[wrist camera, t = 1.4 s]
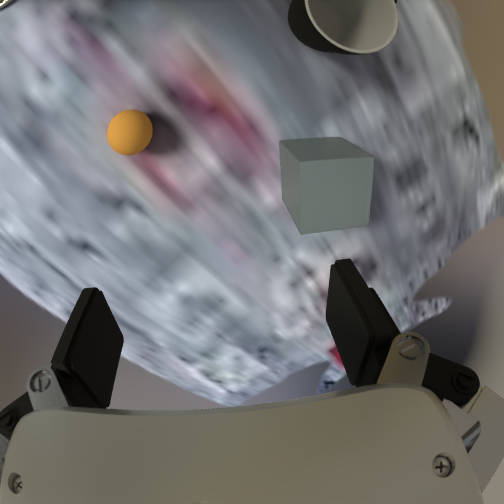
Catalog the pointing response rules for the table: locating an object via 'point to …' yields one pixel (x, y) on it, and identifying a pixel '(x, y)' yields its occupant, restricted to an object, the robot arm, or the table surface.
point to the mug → (344, 24)
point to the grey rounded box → (326, 183)
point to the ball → (129, 132)
